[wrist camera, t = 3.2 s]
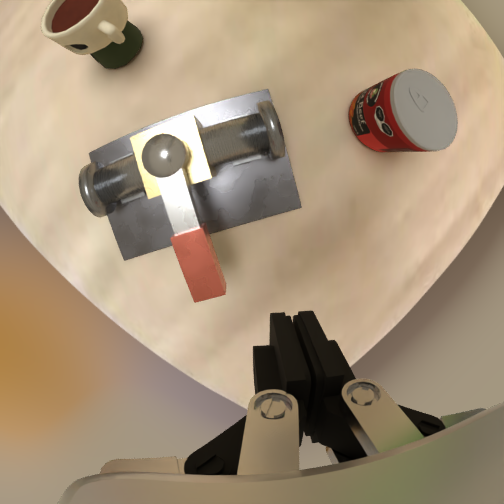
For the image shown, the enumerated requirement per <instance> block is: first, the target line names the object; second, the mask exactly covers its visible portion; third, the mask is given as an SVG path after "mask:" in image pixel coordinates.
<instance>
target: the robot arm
mask: <svg viewBox="0 0 504 504" xmlns="http://www.w3.org/2000/svg"><path fill="white" fill-rule="evenodd" d="M253 371H254V386H255V395H254V396H253V397H252V398H251V399H250V402H249V405H248V411H247V415H246V416H244V417H243V418H242V419H241V420H239V421H238V422H237V423H235V424H234V425H233V426H231V427H230V428H229V429H227V430H226V431H224V432H223V433H222V434H220V435H219V436H217V437H216V438H214V439H213V440H211V441H210V442H208V443H207V444H206V445H204V446H203V447H201V448H199V449H198V450H196V451H195V452H193V453H192V454H191V455H190V456H189V457H188V458H182V459H177V458H176V456H174V457H162V458H145V459H116V460H111V461H109V462H107V463H105V465H104V466H103V467H102V468H101V472H100V474H95V475H92V476H87V477H83V478H81V479H78V480H76V481H75V482H73V483H72V484H71V485H70V486H69V487H68V488H67V489H66V490H65V492H64V493H63V495H62V496H61V498H60V500H59V501H58V503H57V504H504V402H502V403H500V404H497V405H494V406H492V407H490V408H488V409H483V408H480V409H475V410H470V411H466V412H461V413H456V414H451V415H446V416H441V418H440V419H438V418H437V417H434V416H432V415H429V414H425V413H422V412H419V411H416V410H412V409H410V408H406V407H403V406H400V405H397V404H396V403H395V401H394V400H393V399H392V398H391V397H390V395H389V394H388V393H387V392H386V391H385V389H384V388H383V387H382V386H381V385H380V384H378V383H377V382H375V381H373V380H369V379H356V378H355V376H354V374H353V372H352V370H351V368H350V367H349V365H348V363H347V361H346V359H345V357H344V355H343V353H342V351H341V350H340V348H339V346H338V344H337V342H336V341H335V340H329V341H328V340H327V338H326V336H325V334H324V332H323V330H322V328H321V326H320V324H319V322H318V320H317V318H316V316H315V314H314V312H313V311H299V312H298V315H294V316H293V322H292V320H291V317H290V316H286V315H285V313H284V312H283V313H270V345H266V346H253ZM303 432H305V435H306V436H311V440H312V443H317V442H319V443H321V444H322V445H324V446H326V452H327V455H328V457H329V458H330V460H331V462H332V464H333V465H328V466H322V467H317V468H310V469H304V470H299V447H300V446H301V442H302V437H303Z"/></svg>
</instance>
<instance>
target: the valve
mask: <svg viewBox="0 0 504 504" xmlns="http://www.w3.org/2000/svg"><path fill="white" fill-rule="evenodd" d="M162 133H167V134H171V135H174V136H176V137H178V138H180V139H181V140H183V141H184V142H185V144H186V145H187V148H188V151H189V159H188V163H187V165H186V167H185V170H186V174H187V177H188V180H189V183H190V187H191V190H192V193H193V196H194V199H195V202H196V206H197V209H198V212H199V215H200V218H201V221H202V223H205V222H206V225H207V228H208V232H209V234H211V233H214V232H218V231H221V230H224V229H228V228H231V227H235V226H238V225H242V224H245V223H248V222H252V221H255V220H259V219H262V218H266V217H270V216H273V215H277V214H280V213H284V212H287V211H291V210H295V209H298V208H302V207H301V203H300V199H299V195H298V191H297V187H296V183H295V180H294V176H293V172H292V168H291V165H290V161H289V157H288V154H287V150H286V147H285V143H284V137H283V133H282V129H281V125H280V122H279V119H278V116H277V113H276V111H275V109H274V106H273V103H272V100H271V97H270V94H269V90H268V89H266V90H262V91H257V92H253V93H249V94H245V95H241V96H237V97H233V98H230V99H226V100H223V101H219V102H216V103H212V104H209V105H206V106H202V107H199V108H196V109H193V110H190V111H187V112H184V113H181V114H179V115H176V116H173V117H170V118H167V119H165V120H162V121H160V122H157V123H154V124H152V125H149V126H147V127H144V128H142V129H140V130H137V131H135V132H133V133H130V134H128V135H126V136H123V137H121V138H119V139H117V140H115V141H113V142H110V143H108V144H106V145H104V146H102V147H100V148H98V149H96V150H94V151H92V152H90V153H89V156H90V159H91V163H90V164H88V165H86V166H84V167H83V168H82V169H81V171H80V174H79V188H80V193H81V196H82V199H83V201H84V203H85V205H86V207H87V208H88V209H89V211H90V212H91V213H92V214H93V215H95V216H97V217H104V216H106V215H107V216H108V219H109V221H110V224H111V227H112V230H113V233H114V235H115V238H116V241H117V243H118V246H119V249H120V251H121V254H122V256H123V259H124V261H125V260H128V259H131V258H134V257H137V256H140V255H143V254H146V253H150V252H153V251H156V250H159V249H162V248H165V247H169V246H172V242H171V239H170V238H171V236H172V235H173V234H174V231H173V228H172V225H171V222H170V219H169V216H168V213H167V210H166V207H165V204H164V201H163V198H162V195H161V192H160V189H159V186H158V182H157V179H156V177H155V176H152V175H151V174H149V173H148V172H147V171H146V170H145V168H144V166H143V164H142V158H141V157H142V150H143V148H144V146H145V144H146V142H147V141H148V140H149V139H150V138H152V137H153V136H155V135H158V134H162Z"/></svg>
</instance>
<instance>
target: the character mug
mask: <svg viewBox="0 0 504 504" xmlns="http://www.w3.org/2000/svg"><path fill="white" fill-rule="evenodd" d="M127 20H128V13H127V8H126V6H125V5H124V3H123V2H122V1H121V0H52V2H51V3H50V4H49V6H48V7H47V8H46V11H45V13H44V15H43V17H42V21H41V31H42V33H43V34H44V36H46V37H48V38H49V39H51V40H53V41H55V42H56V43H58V44H60V45H61V46H63V47H65V48H66V49H68V50H70V51H72V52H74V53H76V54H80V55H86V54H91V56H92V57H93V58H94V59H95V60H96V61H97V62H98V63H99V62H100V63H101V64H102V65H103V66H104V67H105V68H112V69H115V68H118V67H121V66H123V65H126V64H127V63H128V62H129V61H130V60H131V59H132V58H133V57H134V56H135V55H136V53H137V52H138V50H139V49H140V48H141V44H142V40H143V37H142V34H141V31H140V30H139V29H138V28H137V27H135V26H134V25H133V24H132V23H130V22H129V21H127Z"/></svg>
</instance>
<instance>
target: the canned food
mask: <svg viewBox="0 0 504 504" xmlns="http://www.w3.org/2000/svg"><path fill="white" fill-rule="evenodd" d="M349 120H350V125H351V127H352V130H353V132H354V133H355V135H356V136H357V138H358V139H359V140H360V141H361V142H362V143H363V144H364V145H366V146H368V147H369V148H371V149H373V150H376V151H379V152H426V151H440V150H443V149H445V148H447V147H448V146H449V145H450V144H451V143H452V142H453V140H454V138H455V136H456V132H457V124H458V122H457V113H456V108H455V105H454V103H453V100H452V98H451V96H450V94H449V92H448V91H447V89H446V88H445V86H444V85H443V84H442V83H441V82H440V81H439V80H438V79H437V78H436V77H434V76H433V75H432V74H430V73H428V72H426V71H423V70H420V69H409V70H405V71H403V72H400V73H398V74H396V75H393V76H391V77H389V78H387V79H385V80H384V81H382V82H380V83H378V84H376V85H374V86H372V87H370V88H368V89H366V90H364V91H363V92H361V93H359V94H358V95H357V96H356V97H355V98H354V100H353V101H352V104H351V106H350V110H349Z"/></svg>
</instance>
